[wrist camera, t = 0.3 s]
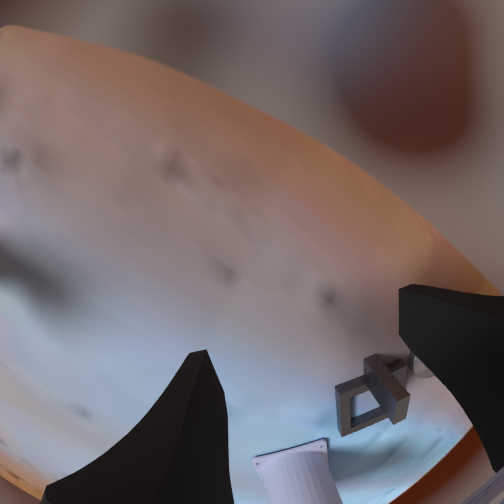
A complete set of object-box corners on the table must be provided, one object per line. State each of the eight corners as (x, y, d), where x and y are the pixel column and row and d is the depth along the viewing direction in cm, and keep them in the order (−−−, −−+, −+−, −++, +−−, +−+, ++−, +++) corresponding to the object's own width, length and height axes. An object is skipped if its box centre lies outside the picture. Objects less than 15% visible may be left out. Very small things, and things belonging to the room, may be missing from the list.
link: (395, 404, 25) (421, 439, 19) (337, 429, 24) (358, 470, 18) (402, 342, 22) (439, 378, 16) (333, 370, 22) (361, 417, 16)
